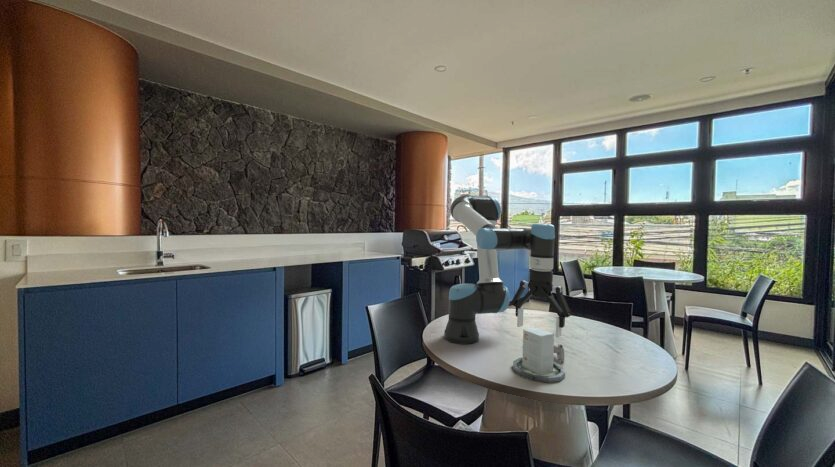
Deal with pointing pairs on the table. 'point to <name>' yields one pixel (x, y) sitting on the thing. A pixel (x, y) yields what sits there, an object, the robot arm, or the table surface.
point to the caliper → (559, 352)
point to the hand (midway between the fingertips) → (538, 331)
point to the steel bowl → (549, 377)
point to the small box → (538, 350)
